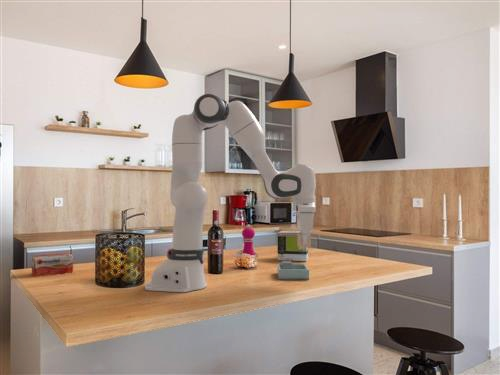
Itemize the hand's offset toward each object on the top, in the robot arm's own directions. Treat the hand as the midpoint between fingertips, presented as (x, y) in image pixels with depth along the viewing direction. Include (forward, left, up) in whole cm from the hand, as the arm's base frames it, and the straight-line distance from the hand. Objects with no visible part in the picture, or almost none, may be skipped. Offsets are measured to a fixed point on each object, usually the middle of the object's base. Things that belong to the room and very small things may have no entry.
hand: (303, 242), depth 158 cm
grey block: (-5, +16, -15) cm, 23 cm away
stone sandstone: (0, 0, -2) cm, 2 cm away
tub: (-3, +14, -16) cm, 22 cm away
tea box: (+1, +56, -16) cm, 58 cm away
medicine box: (-106, +17, -16) cm, 108 cm away
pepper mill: (-22, +34, -16) cm, 44 cm away
